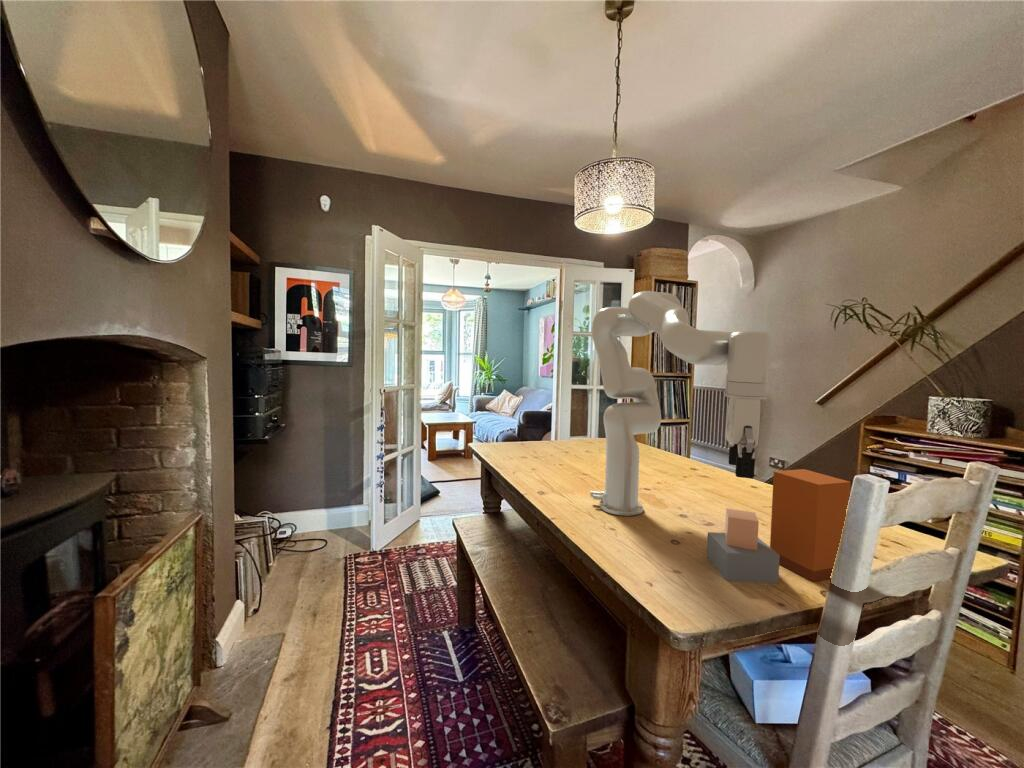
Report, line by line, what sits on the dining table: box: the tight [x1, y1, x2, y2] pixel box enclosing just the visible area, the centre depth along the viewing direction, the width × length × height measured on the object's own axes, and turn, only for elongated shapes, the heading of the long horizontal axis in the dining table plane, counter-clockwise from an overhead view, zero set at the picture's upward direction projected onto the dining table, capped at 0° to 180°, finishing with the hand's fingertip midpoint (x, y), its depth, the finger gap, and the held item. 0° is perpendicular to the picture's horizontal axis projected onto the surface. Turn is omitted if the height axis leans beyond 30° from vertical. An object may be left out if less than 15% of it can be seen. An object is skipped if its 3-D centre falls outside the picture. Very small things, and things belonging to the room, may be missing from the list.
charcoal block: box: [706, 531, 780, 584], centre depth 87 cm, size 10×10×6 cm
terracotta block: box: [724, 507, 760, 550], centre depth 87 cm, size 6×6×6 cm
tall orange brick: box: [769, 468, 852, 582], centre depth 88 cm, size 10×9×20 cm
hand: (740, 470), depth 87 cm, fingers open, 9 cm apart
